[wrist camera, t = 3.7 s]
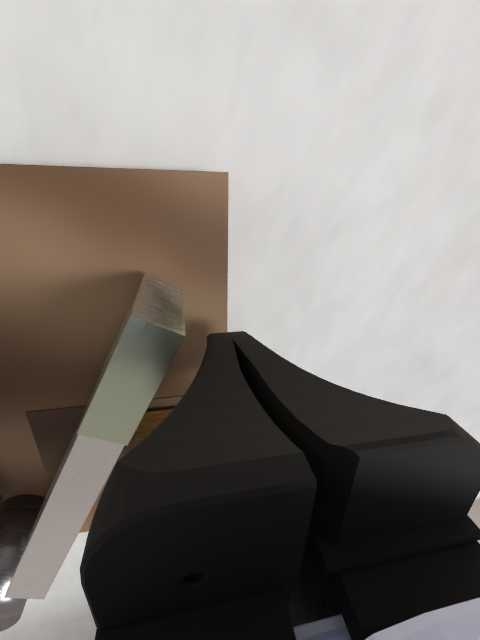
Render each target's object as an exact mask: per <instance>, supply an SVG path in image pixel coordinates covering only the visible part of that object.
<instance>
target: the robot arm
mask: <svg viewBox="0 0 480 640" xmlns="http://www.w3.org/2000/svg"><path fill="white" fill-rule="evenodd" d="M479 491H480V443H479V442H478V441H476V440H475V439H474V438H473V437H472V436H471V435H470V434H468V433H467V432H466V431H465V430H464V429H463V428H461V427H460V426H459V425H458V424H457V423H456V422H455V421H453V420H452V419H451V418H450V417H449V416H447V415H445V414H440V413H435V412H431V411H426V410H421V409H417V408H412V407H407V406H403V405H399V404H395V403H391V402H387V401H384V400H380V399H377V398H373V397H370V396H367V395H364V394H361V393H357V392H354V391H352V390H349V389H346V388H344V387H341V386H338V385H336V384H333V383H331V382H328V381H326V380H324V379H322V378H319V377H317V376H315V375H313V374H311V373H309V372H307V371H305V370H303V369H301V368H299V367H297V366H296V365H294V364H292V363H291V362H289V361H287V360H285V359H284V358H282V357H281V356H279V355H278V354H276V353H275V352H273V351H272V350H270V349H269V348H267V347H266V346H264V345H263V344H262V343H260V342H259V341H257V340H256V339H255V338H253V337H252V336H251V335H249V334H248V333H246V332H244V331H241V332H225V333H210V334H209V335H208V336H207V347H206V351H205V354H204V357H203V360H202V363H201V365H200V367H199V370H198V372H197V374H196V376H195V378H194V380H193V381H192V383H191V385H190V387H189V388H188V390H187V391H186V393H185V394H184V396H183V397H182V398H181V400H180V401H179V402H178V404H177V405H176V406H175V408H174V409H173V410H172V411H171V413H170V414H169V415H168V416H167V417H166V418H165V419H164V420H163V421H162V422H161V423H160V424H159V425H158V426H157V427H156V428H155V430H154V431H153V432H152V433H151V434H150V435H149V436H147V437H146V438H145V439H144V440H143V441H142V442H141V443H139V444H138V445H137V446H136V447H134V448H133V449H132V450H131V451H130V452H128V453H127V454H126V455H125V456H123V457H122V458H121V459H119V460H118V461H117V462H116V464H115V466H114V468H113V470H112V472H111V474H110V476H109V478H108V481H107V483H106V485H105V487H104V490H103V492H102V495H101V497H100V500H99V502H98V505H97V508H96V510H95V513H94V516H93V519H92V522H91V525H90V529H89V533H88V537H87V541H86V546H85V550H84V554H83V558H82V562H81V566H80V575H81V584H82V587H83V590H84V593H85V596H86V599H87V601H88V604H89V607H90V610H91V613H92V616H93V619H94V622H95V624H96V627H97V630H96V636H95V640H480V544H479V543H478V541H477V540H480V529H479V528H478V527H477V526H476V525H475V523H474V522H473V521H472V520H471V519H470V518H469V517H468V515H467V514H468V512H469V510H470V508H471V506H472V504H473V502H474V500H475V499H476V497H477V495H478V493H479Z"/></svg>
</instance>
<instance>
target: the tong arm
mask: <svg viewBox="0 0 480 640" xmlns="http://www.w3.org/2000/svg"><path fill="white" fill-rule="evenodd" d="M184 338H185V325H184V310H183V296H182V288H179V287H177V286H175V285H173V284H171V283H168V282H166V281H164V280H162V279H159V278H157V277H155V276H153V275H151V274H148V273H146V272H145V274H144V277H143V279H142V281H141V283H140V285H139V288H138V290H137V292H136V294H135V296H134V299H133V301H132V303H131V305H130V308H129V310H128V312H127V314H126V316H125V319H124V321H123V323H122V325H121V327H120V330H119V332H118V334H117V336H116V339H115V341H114V343H113V345H112V347H111V350H110V352H109V354H108V356H107V359H106V361H105V363H104V366H103V369H102V371H101V374H100V376H99V379H98V381H97V384H96V386H95V389H94V391H93V393H92V395H91V397H90V400H89V402H88V404H87V406H86V408H85V411H84V413H83V415H82V417H81V419H80V422H79V424H78V426H77V428H76V430H75V433H74V435H73V437H72V439H71V442H70V444H69V446H68V448H67V450H66V453H65V455H64V457H63V459H62V461H61V464H60V466H59V468H58V470H57V472H56V475H55V477H54V479H53V481H52V483H51V486H50V488H49V490H48V492H47V494H46V497H45V499H44V502H43V504H42V506H41V509H40V511H39V514H38V516H37V518H36V521H35V523H34V526H33V528H32V530H31V533H30V535H29V538H28V540H27V542H26V545H25V547H24V550H23V552H22V555H21V557H20V559H19V562H18V564H17V567H16V569H15V571H14V574H13V576H12V579H11V581H10V583H9V586H8V588H7V591H6V593H5V595H4V598H22V599H44V598H45V596H46V594H47V592H48V590H49V588H50V587H51V585H52V583H53V581H54V579H55V577H56V575H57V573H58V571H59V569H60V567H61V566H62V564H63V562H64V560H65V558H66V556H67V554H68V552H69V550H70V548H71V547H72V545H73V543H74V541H75V539H76V537H77V535H78V533H79V531H80V529H81V527H82V526H83V524H84V522H85V520H86V518H87V516H88V514H89V512H90V510H91V508H92V507H93V505H94V503H95V501H96V499H97V497H98V495H99V493H100V491H101V489H102V487H103V486H104V484H105V482H106V480H107V478H108V476H109V474H110V472H111V470H112V468H113V467H114V465H115V463H116V461H117V459H118V457H119V455H120V453H121V451H122V449H123V447H124V446H125V445H126V446H128V444H129V442H130V440H131V438H132V436H133V434H134V432H135V430H136V429H137V427H138V425H139V423H140V421H141V419H142V417H143V415H144V413H145V412H146V410H147V408H148V406H149V404H150V402H151V400H152V398H153V396H154V395H155V393H156V391H157V389H158V387H159V385H160V383H161V381H162V379H163V378H164V376H165V374H166V372H167V370H168V368H169V366H170V364H171V362H172V361H173V359H174V357H175V355H176V353H177V351H178V349H179V347H180V345H181V343H182V342H183V340H184Z"/></svg>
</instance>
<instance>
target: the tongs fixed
mask: <svg viewBox="0 0 480 640" xmlns="http://www.w3.org/2000/svg"><path fill="white" fill-rule="evenodd" d="M2 498H3V495H2V493H1V491H0V502H1V500H2ZM44 499H45V497H42V496H38V495H30V494H25V495H17V496H13V497H11V498H8V499H6V500H5V501H3V502H2V503H1V504H0V631H3V630H6V629H8V628H10V627H11V626H13V625H14V624H15V623H16V622H17V621H18V620H19V619H20V617H21V614H22V611H23V609H24V606H25V603H26V600H27V599H22V598H4V595H5V593H6V591H7V588H8V586H9V583H10V581H11V579H12V576H13V574H14V571H15V569H16V567H17V564H18V562H19V559H20V557H21V555H22V552H23V550H24V547H25V545H26V542H27V540H28V538H29V535H30V533H31V530H32V528H33V526H34V523H35V521H36V518H37V516H38V514H39V511H40V509H41V506H42V504H43V502H44Z"/></svg>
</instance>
